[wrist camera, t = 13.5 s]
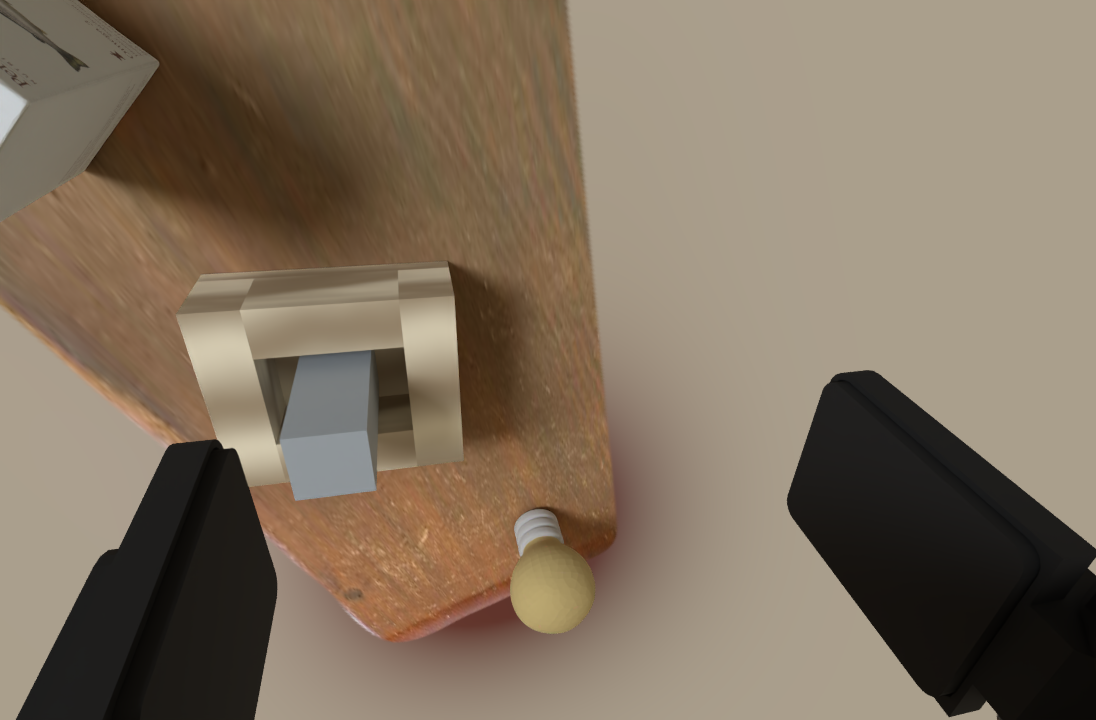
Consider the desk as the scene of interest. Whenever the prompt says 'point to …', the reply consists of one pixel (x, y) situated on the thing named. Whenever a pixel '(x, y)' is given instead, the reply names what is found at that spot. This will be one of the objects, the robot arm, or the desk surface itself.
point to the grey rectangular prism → (332, 425)
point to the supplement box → (59, 93)
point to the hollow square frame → (319, 328)
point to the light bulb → (549, 576)
